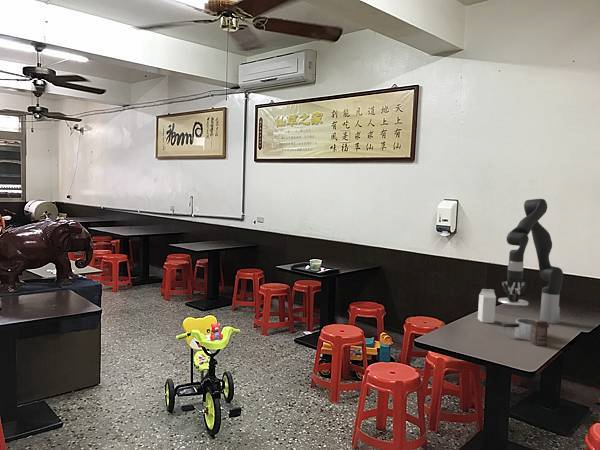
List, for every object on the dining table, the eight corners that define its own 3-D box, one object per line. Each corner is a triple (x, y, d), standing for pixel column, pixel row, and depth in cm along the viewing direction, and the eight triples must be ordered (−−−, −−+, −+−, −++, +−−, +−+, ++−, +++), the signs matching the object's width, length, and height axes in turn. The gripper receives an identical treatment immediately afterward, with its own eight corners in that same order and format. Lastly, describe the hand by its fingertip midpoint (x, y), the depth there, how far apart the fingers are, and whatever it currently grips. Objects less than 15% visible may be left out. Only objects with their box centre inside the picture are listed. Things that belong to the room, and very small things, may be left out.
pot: (538, 332, 252) (539, 318, 251) (554, 341, 238) (556, 326, 237) (495, 332, 249) (496, 318, 249) (509, 341, 235) (510, 325, 235)
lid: (518, 299, 259) (519, 291, 259) (534, 305, 244) (535, 297, 244) (492, 298, 258) (493, 291, 258) (507, 305, 243) (507, 297, 243)
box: (541, 342, 234) (543, 319, 233) (546, 345, 230) (548, 322, 229) (530, 342, 234) (531, 319, 233) (535, 345, 229) (537, 321, 228)
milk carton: (494, 323, 268) (496, 290, 267) (481, 322, 268) (484, 290, 267) (489, 319, 275) (491, 288, 274) (477, 319, 275) (479, 287, 274)
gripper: (524, 268, 254) (522, 299, 255) (499, 267, 253) (497, 299, 254) (531, 270, 246) (529, 302, 248) (506, 270, 246) (504, 302, 247)
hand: (513, 300), depth 251 cm, fingers closed on lid, 3 cm apart
